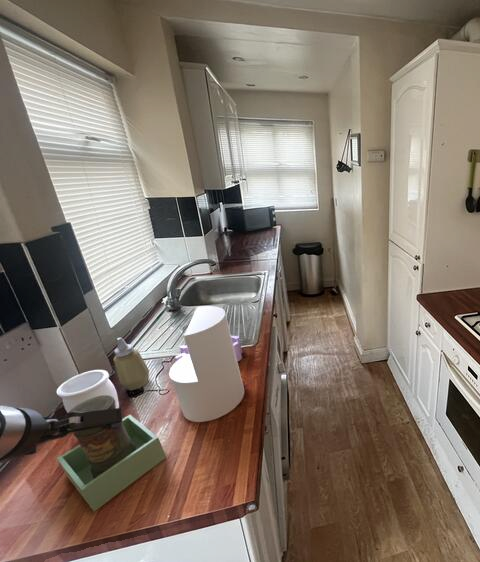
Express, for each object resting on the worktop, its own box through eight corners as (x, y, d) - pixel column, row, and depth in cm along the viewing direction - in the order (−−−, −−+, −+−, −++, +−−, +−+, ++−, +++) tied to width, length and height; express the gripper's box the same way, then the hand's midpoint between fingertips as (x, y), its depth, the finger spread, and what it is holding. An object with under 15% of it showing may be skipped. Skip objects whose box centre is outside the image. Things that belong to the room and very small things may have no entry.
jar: (135, 413, 90) (117, 372, 85) (97, 442, 81) (75, 398, 75) (108, 406, 93) (90, 366, 87) (69, 434, 84) (45, 391, 78)
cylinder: (245, 375, 105) (228, 302, 94) (242, 412, 89) (221, 329, 79) (189, 388, 100) (164, 311, 89) (175, 429, 84) (143, 343, 74)
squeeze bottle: (151, 387, 101) (133, 340, 94) (120, 396, 97) (99, 348, 90) (153, 373, 107) (136, 329, 101) (125, 381, 104) (105, 336, 97)
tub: (68, 478, 72) (56, 458, 69) (138, 433, 84) (129, 414, 81) (94, 511, 65) (81, 490, 62) (166, 457, 76) (158, 437, 74)
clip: (243, 346, 121) (239, 331, 118) (241, 365, 110) (237, 348, 108) (186, 358, 115) (181, 342, 112) (178, 378, 104) (172, 362, 102)
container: (103, 456, 76) (74, 400, 70) (145, 444, 79) (121, 389, 72) (86, 490, 69) (51, 430, 62) (133, 475, 71) (105, 417, 65)
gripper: (-149, 504, 38) (-9, 479, 56) (102, 430, 47) (152, 430, 65) (-134, 440, 40) (-5, 436, 59) (101, 382, 50) (149, 395, 68)
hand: (78, 433), depth 62 cm, fingers open, 13 cm apart
